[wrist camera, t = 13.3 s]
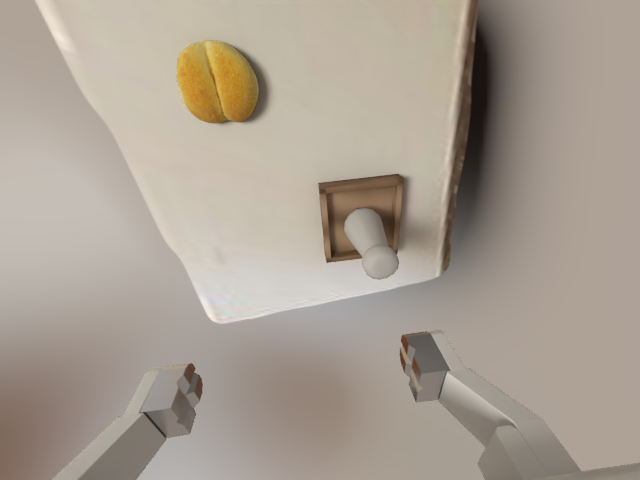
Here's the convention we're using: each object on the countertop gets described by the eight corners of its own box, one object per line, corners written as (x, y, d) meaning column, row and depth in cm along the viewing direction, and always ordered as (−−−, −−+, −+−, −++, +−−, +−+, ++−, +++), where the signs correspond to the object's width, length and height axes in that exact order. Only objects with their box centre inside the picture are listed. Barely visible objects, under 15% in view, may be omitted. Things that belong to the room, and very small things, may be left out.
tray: (318, 183, 39) (319, 188, 37) (397, 174, 39) (403, 179, 37) (325, 254, 46) (326, 262, 44) (392, 246, 46) (397, 253, 44)
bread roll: (263, 119, 34) (260, 123, 31) (193, 122, 34) (182, 127, 30) (253, 40, 30) (248, 34, 26) (172, 42, 29) (156, 37, 26)
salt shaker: (382, 206, 41) (416, 252, 30) (370, 237, 44) (397, 290, 33) (347, 199, 40) (368, 244, 29) (337, 231, 43) (352, 284, 32)
